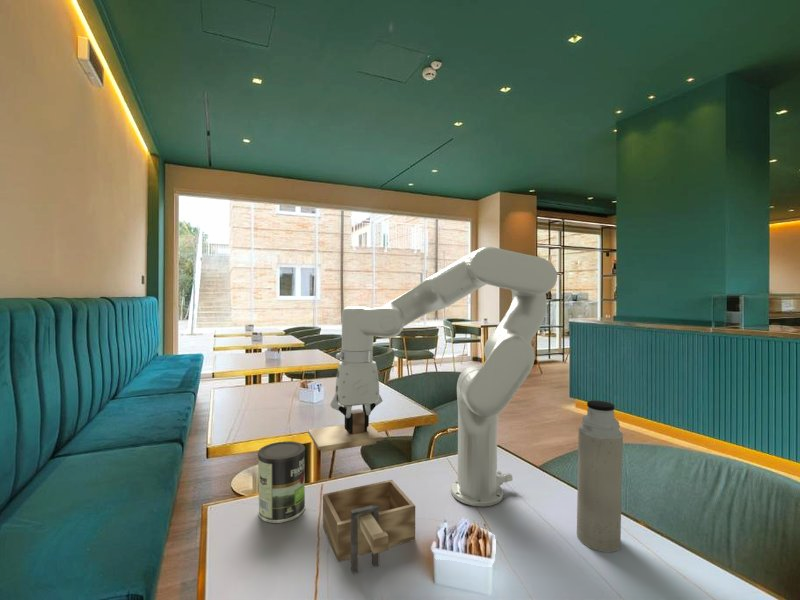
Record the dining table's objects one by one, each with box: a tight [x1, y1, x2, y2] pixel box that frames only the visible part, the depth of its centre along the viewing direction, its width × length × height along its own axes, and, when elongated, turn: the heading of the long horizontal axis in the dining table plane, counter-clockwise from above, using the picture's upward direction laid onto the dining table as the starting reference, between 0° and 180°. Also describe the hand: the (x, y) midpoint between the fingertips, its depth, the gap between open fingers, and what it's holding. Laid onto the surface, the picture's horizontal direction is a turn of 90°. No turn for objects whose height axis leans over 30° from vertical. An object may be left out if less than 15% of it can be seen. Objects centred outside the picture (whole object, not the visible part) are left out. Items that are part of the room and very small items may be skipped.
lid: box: [307, 408, 384, 453], centre depth 97 cm, size 15×11×7 cm
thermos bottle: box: [576, 400, 624, 553], centre depth 81 cm, size 8×8×28 cm
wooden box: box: [322, 479, 416, 574], centre depth 81 cm, size 16×16×11 cm
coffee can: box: [257, 440, 306, 524], centre depth 92 cm, size 10×10×14 cm
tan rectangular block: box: [358, 513, 389, 554], centre depth 70 cm, size 3×9×2 cm, turn 24°
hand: (356, 430), depth 99 cm, fingers closed on lid, 3 cm apart
